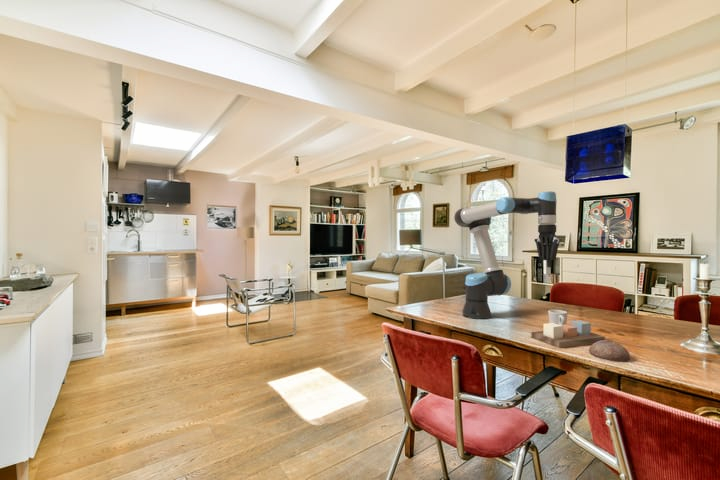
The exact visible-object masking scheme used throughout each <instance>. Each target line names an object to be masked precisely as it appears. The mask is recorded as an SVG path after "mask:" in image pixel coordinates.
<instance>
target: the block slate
mask: <svg viewBox="0 0 720 480" xmlns="http://www.w3.org/2000/svg"><path fill="white" fill-rule="evenodd" d="M591 324H592V323H591V322H588V321H584V320H582V319H579V320H578V319H577V320H571V321H570V326H573V327H577V334H579V335H589V334H591V333H592V331H591V326H592V325H591Z"/></svg>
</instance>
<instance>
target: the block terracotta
mask: <svg viewBox="0 0 720 480" xmlns="http://www.w3.org/2000/svg"><path fill="white" fill-rule="evenodd" d="M561 326H563V335H564V336H567V337H572V336H577V327H573V326H571V324H567V323H566V325H561Z"/></svg>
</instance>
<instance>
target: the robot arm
mask: <svg viewBox="0 0 720 480" xmlns="http://www.w3.org/2000/svg"><path fill="white" fill-rule="evenodd" d="M536 213H537V222H538V224H539V225H538V226H537V232H538V233H539V235H538V237H537V238H535V239H534V242H535V244H536V249H537V256H538V258H539V259H540V260H542V267H543V274H544V275H551V271H552V270H551V269H552V266H553V265H552V263H553V260H556V259H557V255H558V250H559V244H560V243H561V241H562V240H561V239H560V238H557V235H556V233H557V225H556V224H557V193H556V192H555V191H548V190H547V191H541V192H538V193H537V197H531V198H530V197H529V198H526V197H508V196H505V197H500V198H499V199H498V200H495V201H491V202H488V203H484V204H481V205H477V206H474V207H473V206H472V207H469V206H468V207H466V206H465V207H461V208H459V209H458V210H456V212H455V213H454V217H453V219H454V222H455V224H457V225H458V227H461V228H469V233H471V234H472V235H473V237H474V240H475V244H476V245H475V246H476V248H477V251H478V254H479V255H478V256H479V259H480V262H481V266H482V269H483V272H477V273H476V272H475V273H469V274H467V275H466V276H465V282H464V284H465V287H464V288H465V302H464V305H463V308H462V312H461V313H462V314H463V315H465V316H468V317H472V318H471V319H474V318H487V319H490V318H491V317H492V312H491V309H490V305H489V303H488V297H494V296H502V295H506V294H508V293H509V292H510V289H511V288H512V280H511V277H509V276H508V275H507V274H505V273H504V271H503V269H502V268H501V267H499V263H498V260H497V256H496V253H495V249H494V245H493V243H492V240H491V236H490V232H489V229H490V228H491V227H490V226H491V223H492V218H493V217H499V216H502V215H506V214H507V215H509V214H521V215H528V214H536ZM463 315H462V316H463ZM465 316H464V317H465ZM468 317H467V318H468Z"/></svg>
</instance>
